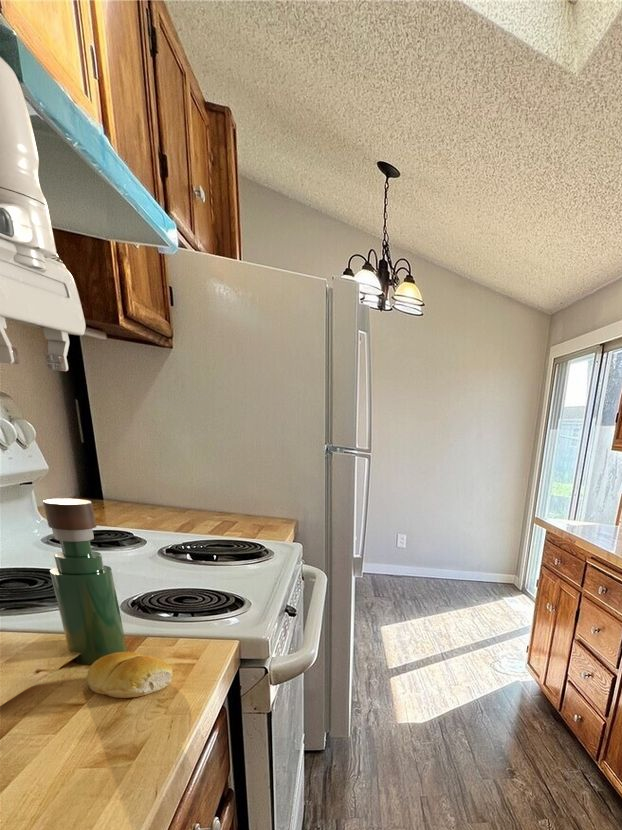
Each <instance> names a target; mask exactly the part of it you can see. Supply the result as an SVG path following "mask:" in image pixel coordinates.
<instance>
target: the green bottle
mask: <svg viewBox="0 0 622 830" xmlns="http://www.w3.org/2000/svg"><path fill="white" fill-rule="evenodd" d="M51 530H52V534H53V539H54V540H56V541H59V543H60V547H61V550H62V551H59V552H56V553H54V557H53V558H54V560H55V561H54V562H55V566H56V567H53V568H50V570H49V574H50V579H51V582H52V588H53V590H54V595H55V599H56V603H57V608H58V611H59V616H60V620H61V624H62V625H61V626H62V628H63V632H64V638H65V641H66V645H67V649H68V650H69V651H70V652H72V653H77V654H78V655H77V656H75V657H74V658H72V659H71V661H72V662H73V663H75V664H80V665H92V664H93V663H94V662H95V661H96V660H98V659H100V658H101V657H103V656H106V655H109V654H112V653H116V652H128V647H127V641H126V637H125V631H124V626H123V621H122V616H121V612H120V611H121V610H120V605H119V600H118V595H117V590H116V586H115V585H116V584H115V580H114V575H113V574H114V573H113V570H112V568H111V567H110V566H108V565H104V562H103V556H102V553H101V552H98V551H94V550H93V549H92V545H91V541H93V540H94V539H95V536H94V530H93V528H92V529H85V530H60V529H53V528H51Z"/></svg>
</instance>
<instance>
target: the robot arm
mask: <svg viewBox="0 0 622 830" xmlns="http://www.w3.org/2000/svg"><path fill="white" fill-rule="evenodd" d="M39 165H40V157H39V152H38V147H37V144H36V137H35V133H34V129H33V124H32V121H31V117H30V113H29V110H28V106H27V102H26V99H25V95H24V93H23V89H22V87H21V84H20V82H19V79H18V76H17V75H16V73H15V71H14V70H13V69H12V67H11V66H10V64H9V63H8V62H7V61H6V60H5V59H4V57H2V55H0V364H8V365H19V364H20V363H21V360H20V357H19V351H18V348H17V347H15V346H13V345H12V343H11V341H10V339H9V337H8V335H7V332H6V330H7V329H8V326H7V322H13V323H17V324H21V325H26V326H30V327H34V328H39V329H42V330H43V335H44V338H45V340H48V341H47V353H44V359H45V362H46V363H45V364H46V367H47V368H48V369H50V370H53V371H59V372H67V371H69V363H68V359H67V356H68V352H69V347H70V337H69V335H73V336H84V335H85V333H86V326H87V325H86V319H85V316H84V311H83V307H82V303H81V299H80V295H79V291H78V288H77V284H76V282H75V279H74V277H73V275H72V274H71V272H70V271H69V270H68V269H67V267H66V265H65V264H64V263H63V261H62V260H61V258H60V257H59V254H58V253H57V247H56V242H55V237H54V232H53V227H52V221H51V216H50V212H49V211H50V210H49V206H48V203H47V200H46V197H45V195H44V193H43V191H42V188H41V185H40V180H39V167H40V166H39ZM5 329H6V330H5Z"/></svg>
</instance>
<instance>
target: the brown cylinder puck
mask: <svg viewBox="0 0 622 830" xmlns="http://www.w3.org/2000/svg"><path fill="white" fill-rule="evenodd" d="M42 504H43V508H44V512H45V517H46V521H47V526H48V528H50V529H52V528H53V529H60V530H85V529H92V530H93V529H95V528H97V525H98V524H97V520H96V515H95V511H94V510H95V509H94V506H93V502H92V501H91V500H88V499H81V498H48V499H44V500H43V501H42Z"/></svg>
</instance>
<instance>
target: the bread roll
mask: <svg viewBox="0 0 622 830" xmlns="http://www.w3.org/2000/svg"><path fill="white" fill-rule="evenodd" d="M172 679H173V668H172V667H171V664H169V663H168V662H166V661H165V660H163V659H162V658H158V657H156V656H154V655H146V654H145V655H144V654H143V655H142V654H140V653H139V652H134V651H127V652H116V653H112V654H109V655H106V656H103V657H101V658H100V659H98V660H96V661H95V662H94V663H93V664H90V666H89V668H88V671H87V674H86V682H87V684H88V687H89V688H90V690H91V691H93V692H94V693H96V694H99V695H104V696H109V697H112V698H116V699H117V698H120V699H131V698H132V699H133V698H138V697H144V696H146V695H150V694H152V693H156V692H158V691H161V690H163V689H164V688H166V687H168V686H169V685H170V684H171V683H172Z"/></svg>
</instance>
